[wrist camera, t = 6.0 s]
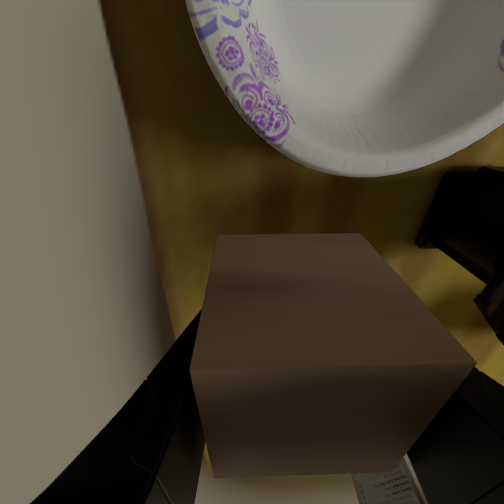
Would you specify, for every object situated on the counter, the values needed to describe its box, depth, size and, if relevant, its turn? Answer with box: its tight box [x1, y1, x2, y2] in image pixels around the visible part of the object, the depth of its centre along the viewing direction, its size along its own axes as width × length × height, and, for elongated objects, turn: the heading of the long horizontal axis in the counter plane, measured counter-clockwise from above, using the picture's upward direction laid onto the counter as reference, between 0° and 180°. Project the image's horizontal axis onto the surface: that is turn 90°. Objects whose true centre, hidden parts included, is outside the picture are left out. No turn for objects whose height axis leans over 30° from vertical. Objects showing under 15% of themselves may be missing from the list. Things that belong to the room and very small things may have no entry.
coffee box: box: [351, 453, 428, 504], centre depth 26 cm, size 9×6×16 cm
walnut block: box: [190, 233, 477, 478], centre depth 8 cm, size 5×5×5 cm
